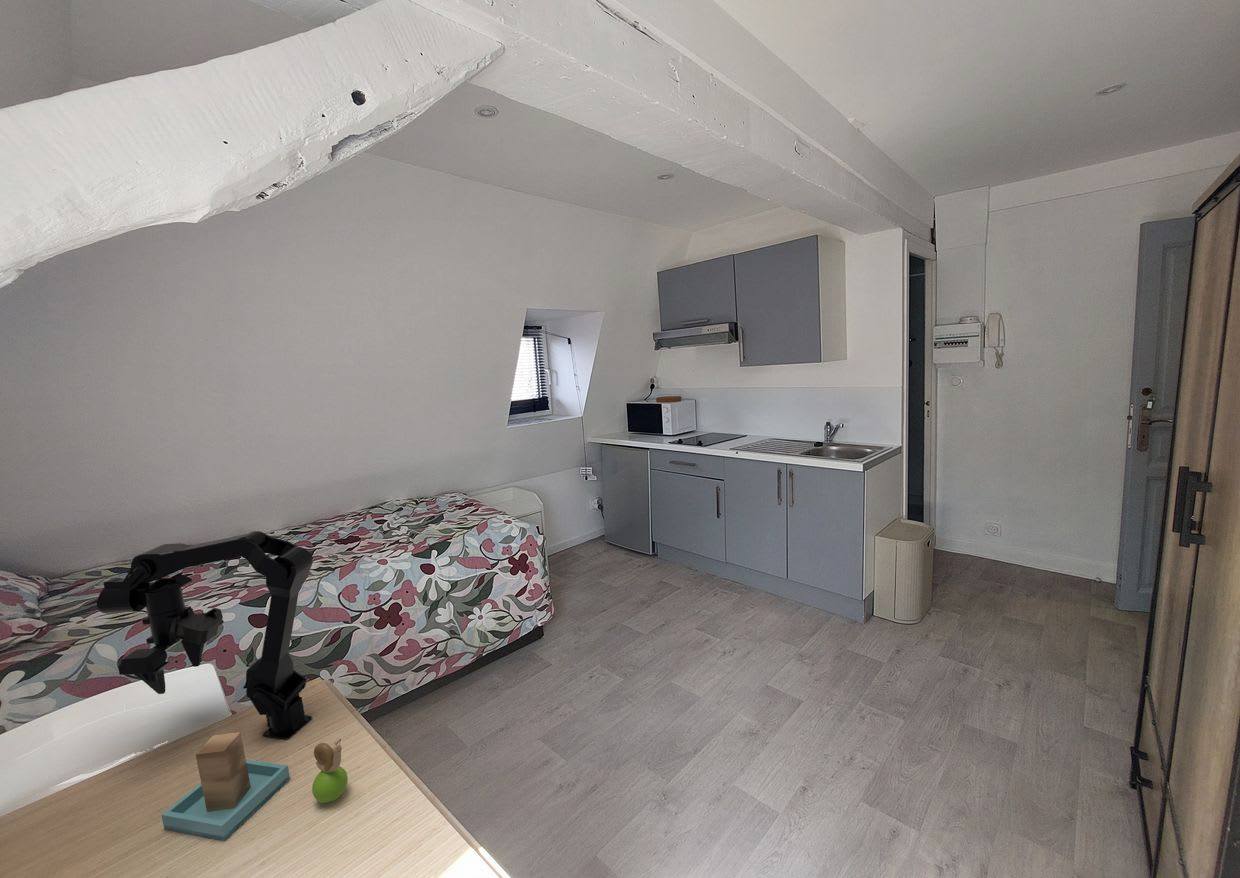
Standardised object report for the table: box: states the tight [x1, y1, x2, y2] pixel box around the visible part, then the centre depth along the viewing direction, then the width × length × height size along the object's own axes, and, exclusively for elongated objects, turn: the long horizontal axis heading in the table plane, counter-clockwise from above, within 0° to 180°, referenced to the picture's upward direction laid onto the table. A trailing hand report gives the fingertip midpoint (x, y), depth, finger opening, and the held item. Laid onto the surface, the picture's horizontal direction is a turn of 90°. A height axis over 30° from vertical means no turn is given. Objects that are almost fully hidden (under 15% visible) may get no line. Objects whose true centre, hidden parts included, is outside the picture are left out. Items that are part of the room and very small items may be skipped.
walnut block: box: [195, 731, 251, 812], centre depth 90 cm, size 4×4×11 cm
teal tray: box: [161, 759, 291, 842], centre depth 90 cm, size 13×13×3 cm
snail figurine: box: [311, 737, 349, 804], centre depth 89 cm, size 5×6×12 cm
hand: (180, 679), depth 106 cm, fingers open, 9 cm apart
